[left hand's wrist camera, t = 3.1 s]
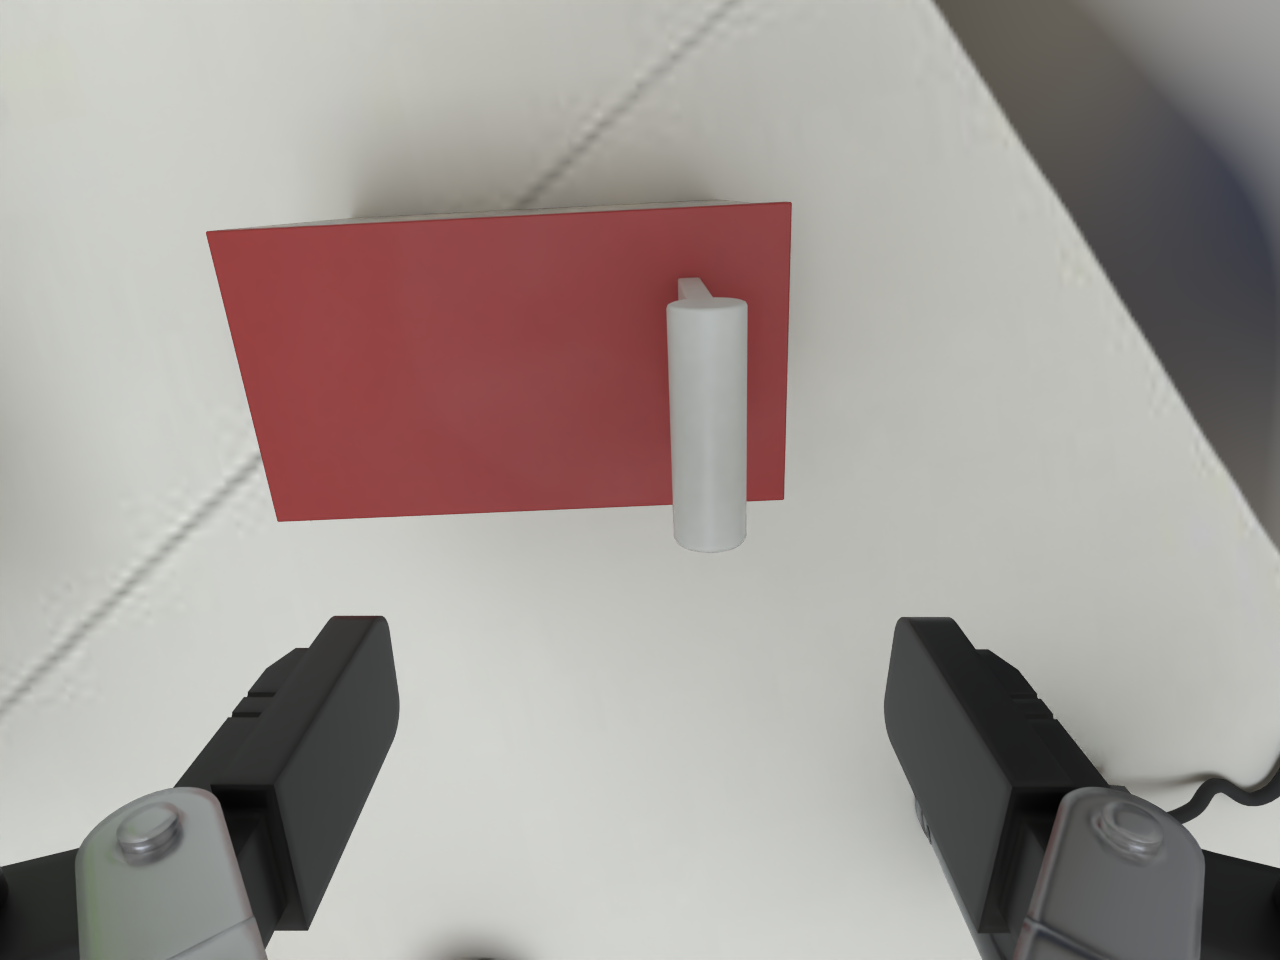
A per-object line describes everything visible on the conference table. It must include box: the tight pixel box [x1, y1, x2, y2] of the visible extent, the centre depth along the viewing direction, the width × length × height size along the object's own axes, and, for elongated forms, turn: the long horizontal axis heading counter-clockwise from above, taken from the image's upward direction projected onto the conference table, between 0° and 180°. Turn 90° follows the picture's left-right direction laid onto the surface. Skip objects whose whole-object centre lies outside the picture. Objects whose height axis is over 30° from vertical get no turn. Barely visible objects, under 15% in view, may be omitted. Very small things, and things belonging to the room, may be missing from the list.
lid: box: [206, 202, 792, 553], centre depth 21 cm, size 18×10×9 cm, turn 93°
